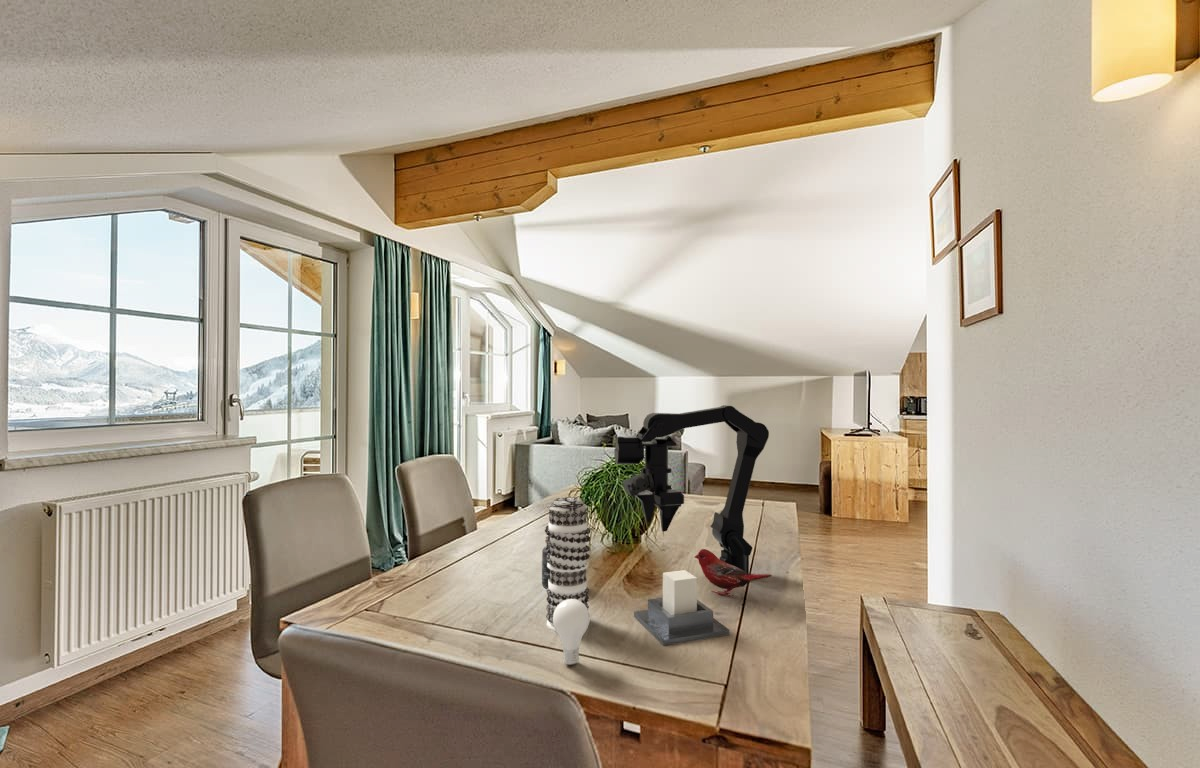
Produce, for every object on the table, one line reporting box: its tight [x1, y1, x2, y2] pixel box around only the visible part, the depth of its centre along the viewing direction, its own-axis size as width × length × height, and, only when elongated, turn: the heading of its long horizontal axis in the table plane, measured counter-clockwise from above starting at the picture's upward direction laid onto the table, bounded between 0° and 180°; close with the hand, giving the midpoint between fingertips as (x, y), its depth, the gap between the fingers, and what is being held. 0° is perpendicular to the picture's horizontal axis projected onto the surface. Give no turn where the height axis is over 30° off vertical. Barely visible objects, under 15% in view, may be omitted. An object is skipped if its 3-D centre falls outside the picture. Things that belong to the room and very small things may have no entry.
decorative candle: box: [544, 496, 592, 633], centre depth 113 cm, size 9×9×25 cm
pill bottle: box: [541, 542, 549, 589], centre depth 134 cm, size 6×6×11 cm
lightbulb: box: [553, 599, 591, 666], centre depth 96 cm, size 6×6×11 cm
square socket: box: [633, 597, 730, 646], centre depth 112 cm, size 14×14×4 cm
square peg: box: [662, 569, 698, 615], centre depth 112 cm, size 5×5×9 cm
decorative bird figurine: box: [694, 548, 773, 597], centre depth 127 cm, size 3×18×10 cm, turn 64°
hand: (656, 526), depth 139 cm, fingers open, 9 cm apart
